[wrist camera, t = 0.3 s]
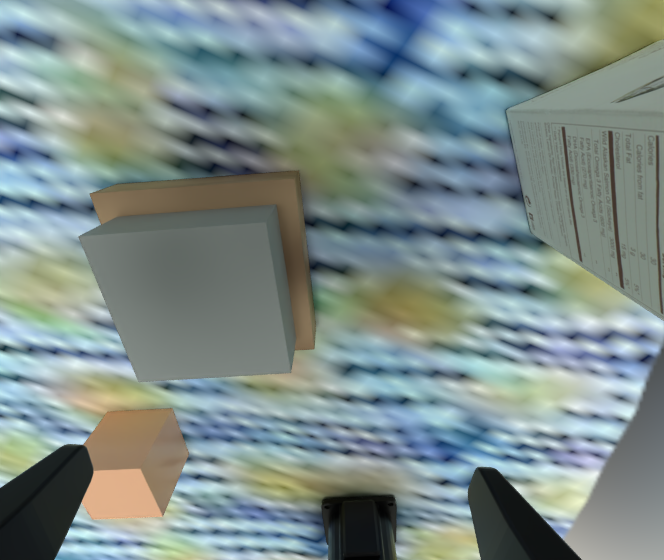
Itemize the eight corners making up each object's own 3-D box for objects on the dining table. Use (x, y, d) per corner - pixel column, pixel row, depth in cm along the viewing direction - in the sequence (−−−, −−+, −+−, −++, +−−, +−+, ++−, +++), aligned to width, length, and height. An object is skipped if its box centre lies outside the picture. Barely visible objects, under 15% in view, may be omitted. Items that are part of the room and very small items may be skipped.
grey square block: (296, 338, 21) (290, 372, 18) (163, 346, 21) (138, 382, 18) (276, 204, 17) (266, 222, 15) (117, 216, 18) (78, 236, 15)
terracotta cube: (189, 452, 29) (162, 516, 24) (129, 455, 29) (92, 519, 25) (172, 407, 27) (140, 468, 22) (108, 411, 27) (62, 472, 22)
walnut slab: (316, 321, 24) (314, 349, 21) (171, 330, 24) (151, 358, 22) (299, 168, 19) (294, 178, 17) (122, 182, 20) (89, 193, 17)
